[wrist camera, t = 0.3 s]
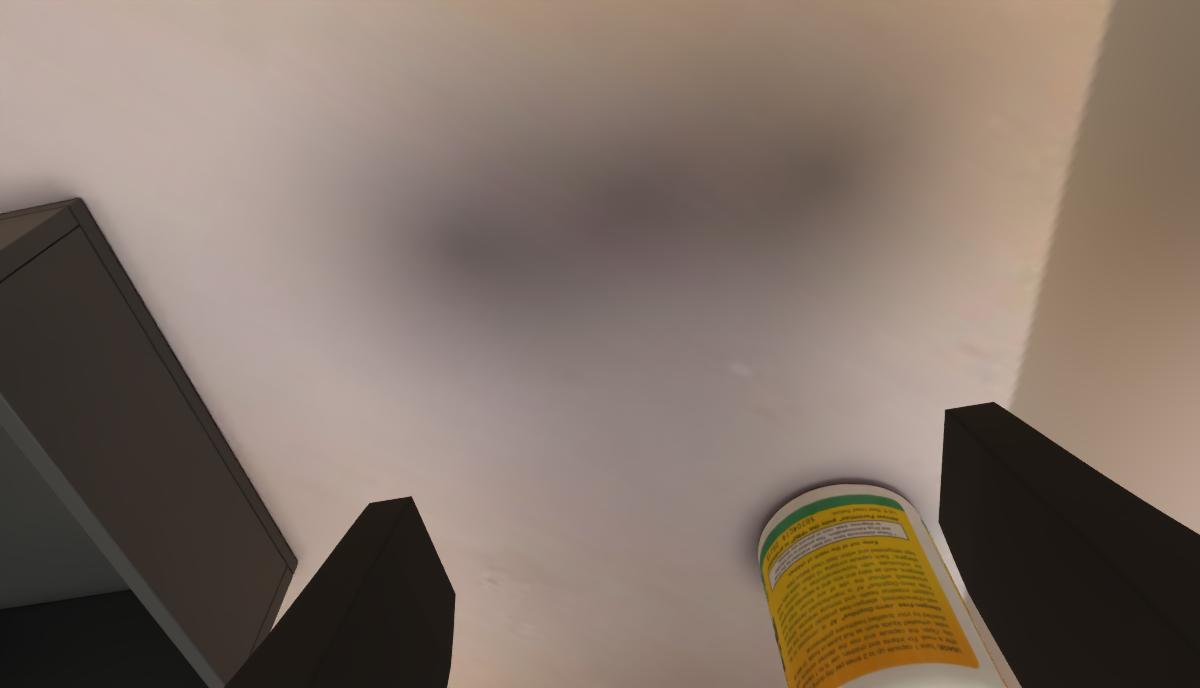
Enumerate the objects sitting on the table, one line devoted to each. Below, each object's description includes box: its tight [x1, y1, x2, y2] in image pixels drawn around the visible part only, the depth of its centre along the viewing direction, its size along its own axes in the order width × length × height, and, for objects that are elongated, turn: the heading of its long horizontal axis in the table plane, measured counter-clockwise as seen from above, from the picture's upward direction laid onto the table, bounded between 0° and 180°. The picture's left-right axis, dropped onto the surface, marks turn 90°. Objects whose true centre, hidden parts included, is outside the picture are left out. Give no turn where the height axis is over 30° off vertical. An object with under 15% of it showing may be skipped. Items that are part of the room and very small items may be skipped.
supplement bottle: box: [758, 484, 1008, 688], centre depth 21 cm, size 5×5×10 cm
